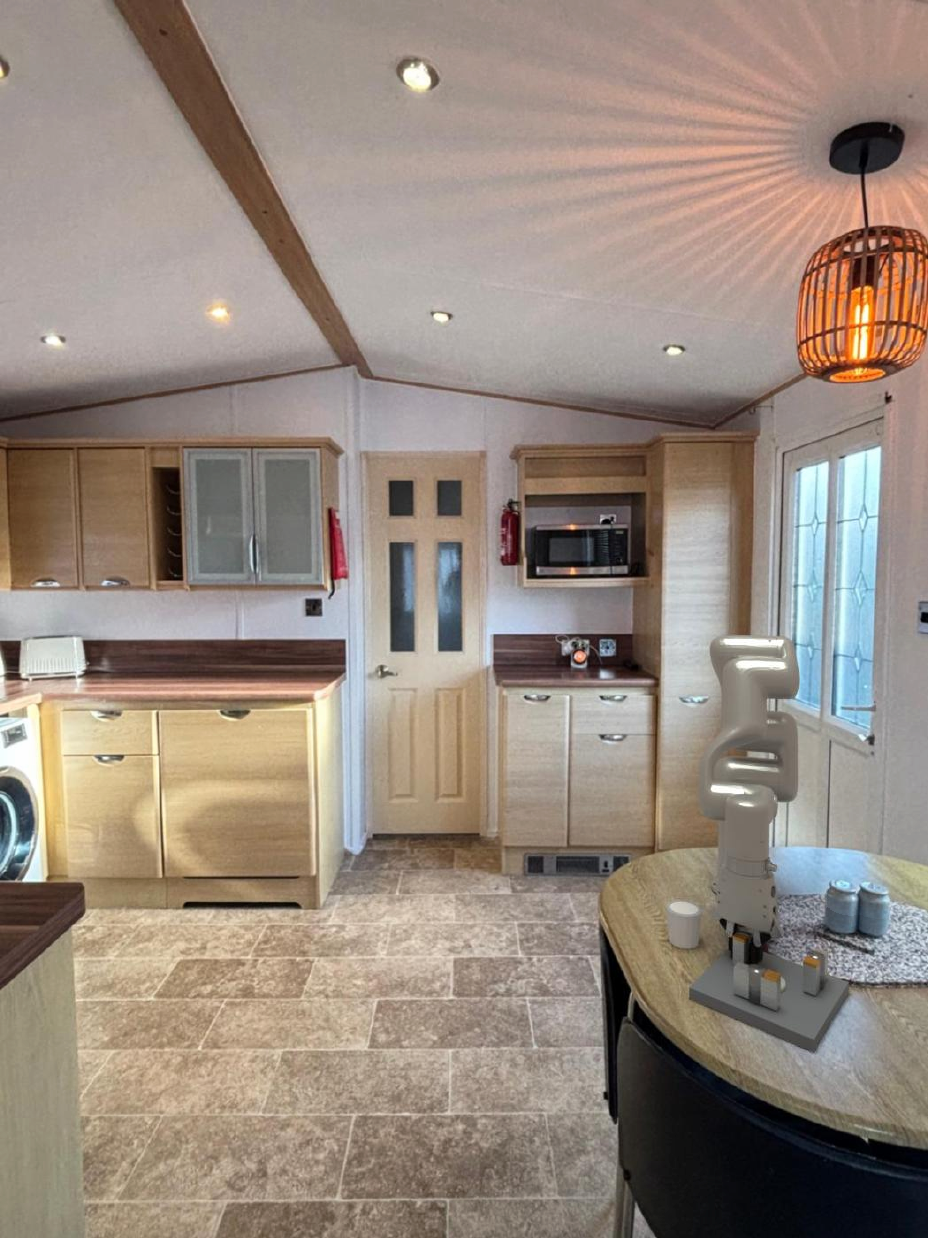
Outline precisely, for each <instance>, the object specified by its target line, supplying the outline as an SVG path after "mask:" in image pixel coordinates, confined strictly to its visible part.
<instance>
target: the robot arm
mask: <svg viewBox="0 0 928 1238" xmlns="http://www.w3.org/2000/svg"><path fill="white" fill-rule="evenodd" d="M709 656H710V661H711V664H712V667H713V670H714V673H715V675H716V677H717V680H718V681H719V686H720V689H721V690H720V691H721V731H720V733H719V734H718V735H717V736H716V737H715V738H714V739H713V740H712V741H711V742H710V743H709V745H708V746H706V748H705V750H704V752H703V754H702V756H701V759H700V763H699V769H698V791H697V792H698V793H697V795H698V798H697V799H698V807H699V810H700V812H701V814H702V815H703V817H705V818H707V819H709V820H713V821H718V822H717V824H718V825H717V826H718V828H717V833H718V834H717V837H718V838H717V876H715V877H714V878H712V879H711V881H710V888H711V890H712V892H713V893H714V894H716V897H715V899H716V900H715V904H714V905H713V906H712V907H711V910H710V911H709V914H710V916H711V917H713V918H714V919H715V920H716V921H717V922H719V924H720V925H721V927H722V928H723V930H724V931H725V935H726V936H727V938H728V948H727V949H729V951H731V953H730V958H731V959H733V935H734V934H735V933H736V932H738V928H739V926H738V925H739V924H740V925H743V926H746V927H749V928H752V929H753V940H754V941H753V944H752V945H751V961H750V964H751V965H752V964H756V965H757V964H758V963H759V962H761V961H762V959H763V944H764V943H767V942H770V941H772V940H773V941H774V940H777V939H778V940H779V939H782V938H783V937H784V935H785V932H784V931H783V929H782V925H781V924H780V922H779V900H778V899H779V898H778V892H777V886H776V880H775V875H774V873H776V872H777V871H778V865H777V864H776V863H775V864H774V863H773V862H771V857H770V824H771V823H772V822H773V820H774V818H776V817H777V815H778V809H779V804H778V803H791V802H793V801H795V800H796V798H797V795H798V791H799V790H798V789H799V734H798V733H799V732H798V726H797V722H796V720H795V718H794V716H792V714H790V713H788V712H786V711H781V710H768V700H769V699H771V700H793V699H794V698H796V697H797V695H798V693H799V690H800V685H801V684H800V679H801V678H800V667H799V661H798V657H797V652H796V647H795V644H794V642H793V640H792V639H790V638H789V637H787V636H782V635H751V634H750V635H747V634H746V635H745V634H740V635H739V634H731V635H721V636H717V637H715V638H713V639H712V640H711V642H710V644H709ZM731 750H734V751H739V752H740V751H742V752H751V753H753V752H754V753H764V754H765V753H766V754H772V755H774V756H775V757H776V758H765V757H755V756H754V757H753V756H742V755H728V756H725V757H722V756H723V755H724V754H726V753H728V752H729V751H731ZM720 757H722V758H720ZM773 872H774V873H773ZM771 928H772V931H770V930H771Z"/></svg>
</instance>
